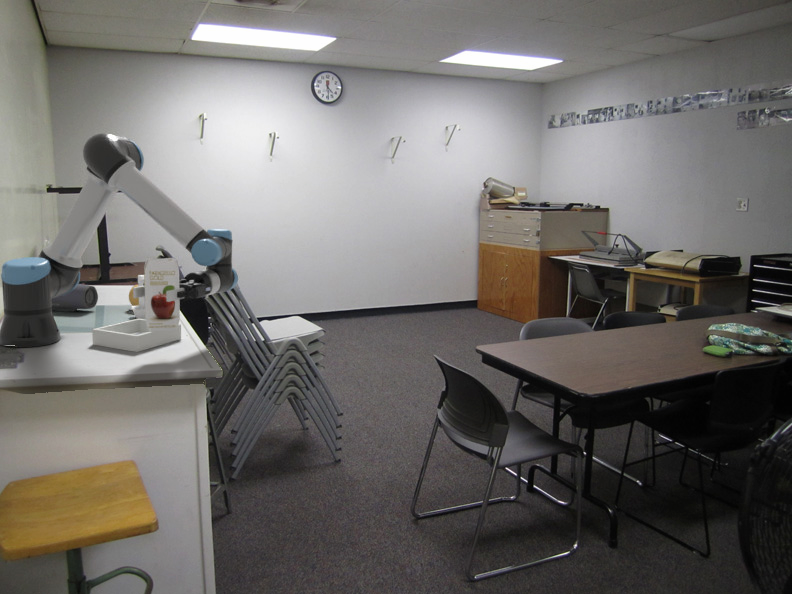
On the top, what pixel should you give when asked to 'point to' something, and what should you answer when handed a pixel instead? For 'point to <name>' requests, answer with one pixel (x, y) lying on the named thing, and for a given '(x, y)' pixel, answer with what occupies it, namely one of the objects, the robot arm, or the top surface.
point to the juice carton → (161, 294)
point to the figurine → (140, 302)
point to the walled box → (132, 336)
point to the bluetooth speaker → (76, 299)
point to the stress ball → (133, 300)
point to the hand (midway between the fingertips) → (150, 294)
